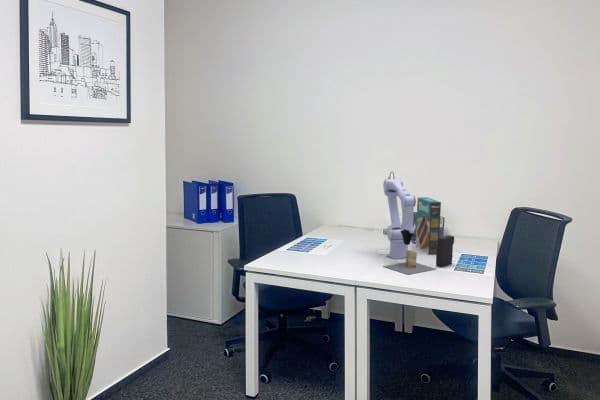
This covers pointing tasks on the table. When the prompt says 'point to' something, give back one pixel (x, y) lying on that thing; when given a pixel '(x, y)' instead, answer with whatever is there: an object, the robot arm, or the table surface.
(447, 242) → the small drawer cabinet
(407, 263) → the maple block
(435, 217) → the cake mix box
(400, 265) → the mat
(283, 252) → the table surface
